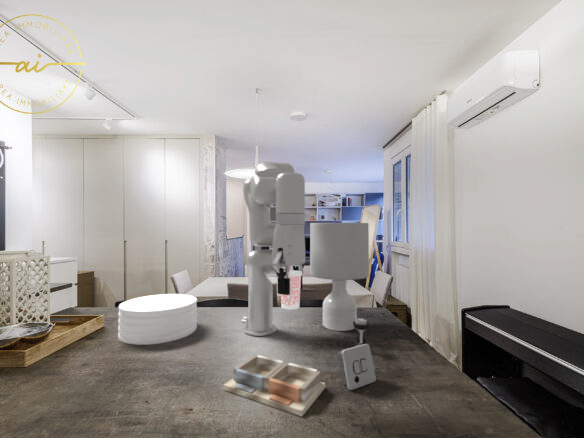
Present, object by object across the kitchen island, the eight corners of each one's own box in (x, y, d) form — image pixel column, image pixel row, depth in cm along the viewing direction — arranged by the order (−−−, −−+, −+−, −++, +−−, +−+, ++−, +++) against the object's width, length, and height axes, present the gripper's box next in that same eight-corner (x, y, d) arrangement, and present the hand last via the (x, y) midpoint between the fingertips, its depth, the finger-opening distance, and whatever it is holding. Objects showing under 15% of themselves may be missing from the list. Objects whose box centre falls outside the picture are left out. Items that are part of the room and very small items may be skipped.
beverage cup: (287, 303, 79) (287, 251, 80) (307, 306, 76) (306, 251, 77) (273, 308, 74) (273, 252, 75) (293, 311, 71) (293, 253, 72)
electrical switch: (349, 392, 73) (347, 352, 74) (336, 384, 77) (334, 347, 78) (376, 382, 78) (374, 345, 79) (362, 375, 82) (360, 340, 83)
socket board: (223, 389, 74) (223, 372, 74) (253, 367, 85) (254, 353, 85) (302, 416, 63) (302, 396, 63) (325, 387, 75) (325, 370, 75)
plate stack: (206, 334, 112) (206, 304, 113) (121, 351, 97) (122, 316, 97) (186, 316, 135) (186, 291, 136) (115, 327, 120) (116, 299, 120)
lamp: (360, 316, 135) (359, 223, 136) (377, 335, 111) (376, 222, 112) (307, 316, 134) (307, 223, 135) (313, 336, 110) (313, 222, 111)
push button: (370, 356, 93) (369, 324, 93) (352, 354, 94) (352, 323, 95) (369, 347, 100) (369, 318, 100) (353, 346, 101) (353, 316, 101)
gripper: (293, 222, 86) (293, 285, 85) (259, 220, 70) (258, 296, 70) (317, 222, 82) (317, 287, 81) (286, 219, 67) (286, 300, 66)
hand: (290, 291), depth 75 cm, fingers closed on beverage cup, 6 cm apart
